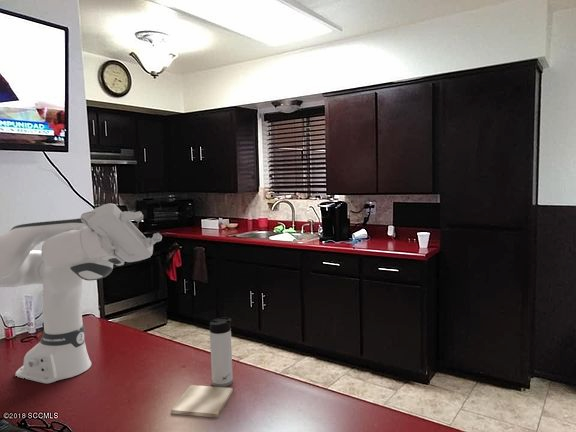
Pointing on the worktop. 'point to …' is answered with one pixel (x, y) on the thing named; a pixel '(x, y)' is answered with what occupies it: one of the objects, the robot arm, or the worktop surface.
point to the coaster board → (202, 401)
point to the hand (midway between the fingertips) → (151, 226)
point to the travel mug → (221, 352)
